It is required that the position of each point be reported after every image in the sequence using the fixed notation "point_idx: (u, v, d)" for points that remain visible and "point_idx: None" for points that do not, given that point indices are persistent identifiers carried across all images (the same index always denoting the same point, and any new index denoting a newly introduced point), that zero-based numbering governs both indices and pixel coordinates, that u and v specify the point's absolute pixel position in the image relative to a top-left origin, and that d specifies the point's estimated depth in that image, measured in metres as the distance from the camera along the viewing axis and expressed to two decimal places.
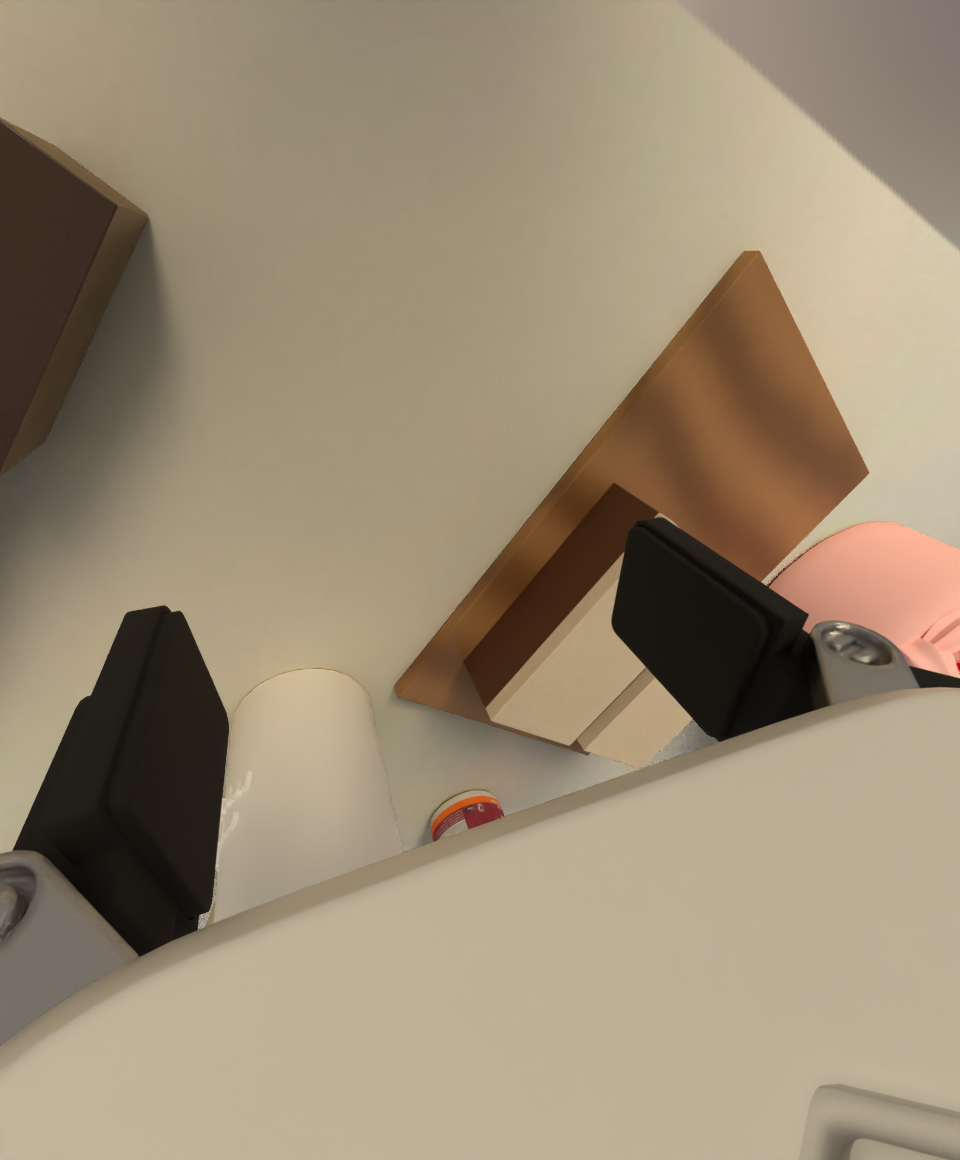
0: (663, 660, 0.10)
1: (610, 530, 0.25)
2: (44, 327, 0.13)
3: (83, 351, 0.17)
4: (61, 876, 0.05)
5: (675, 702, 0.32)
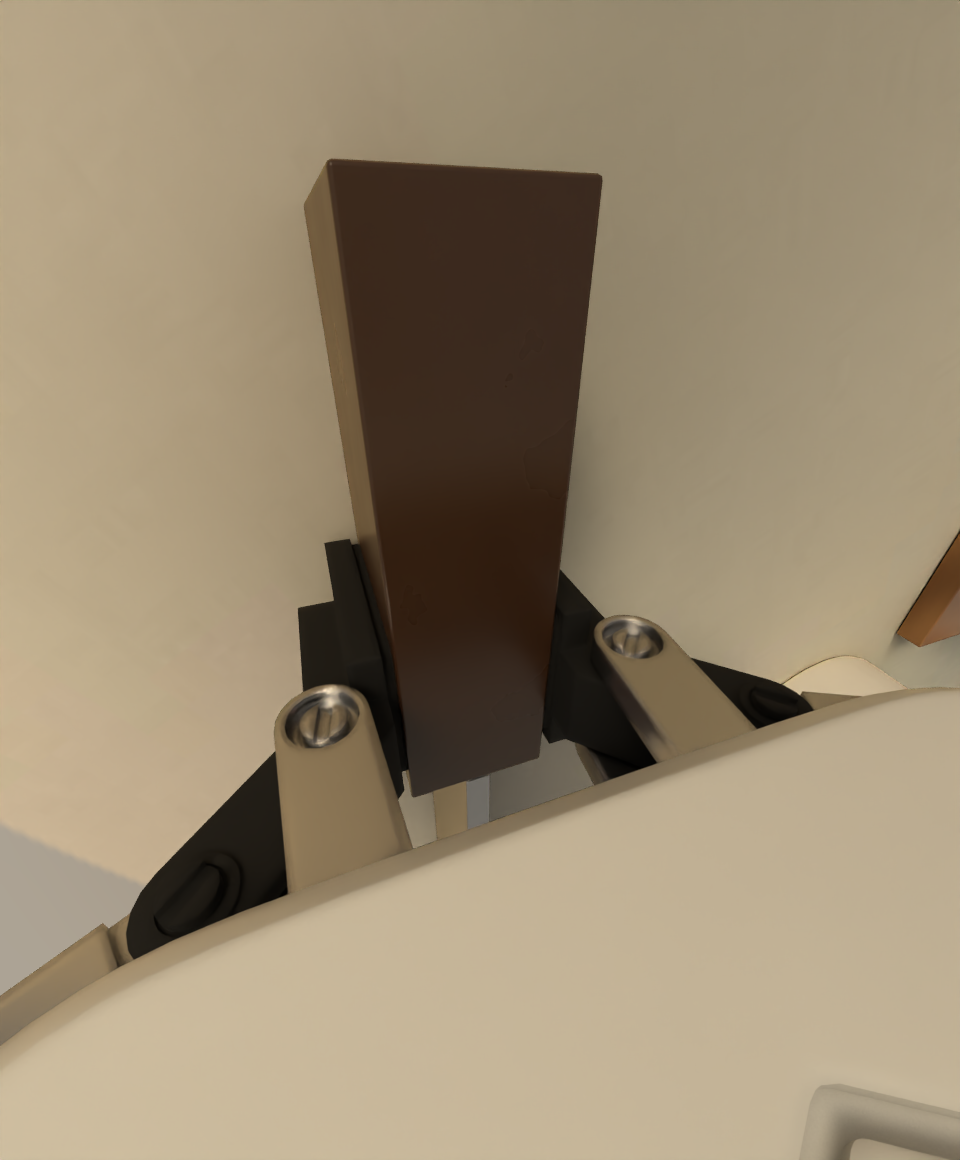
0: None
1: None
2: (542, 538, 0.07)
3: None
4: (373, 721, 0.06)
5: None
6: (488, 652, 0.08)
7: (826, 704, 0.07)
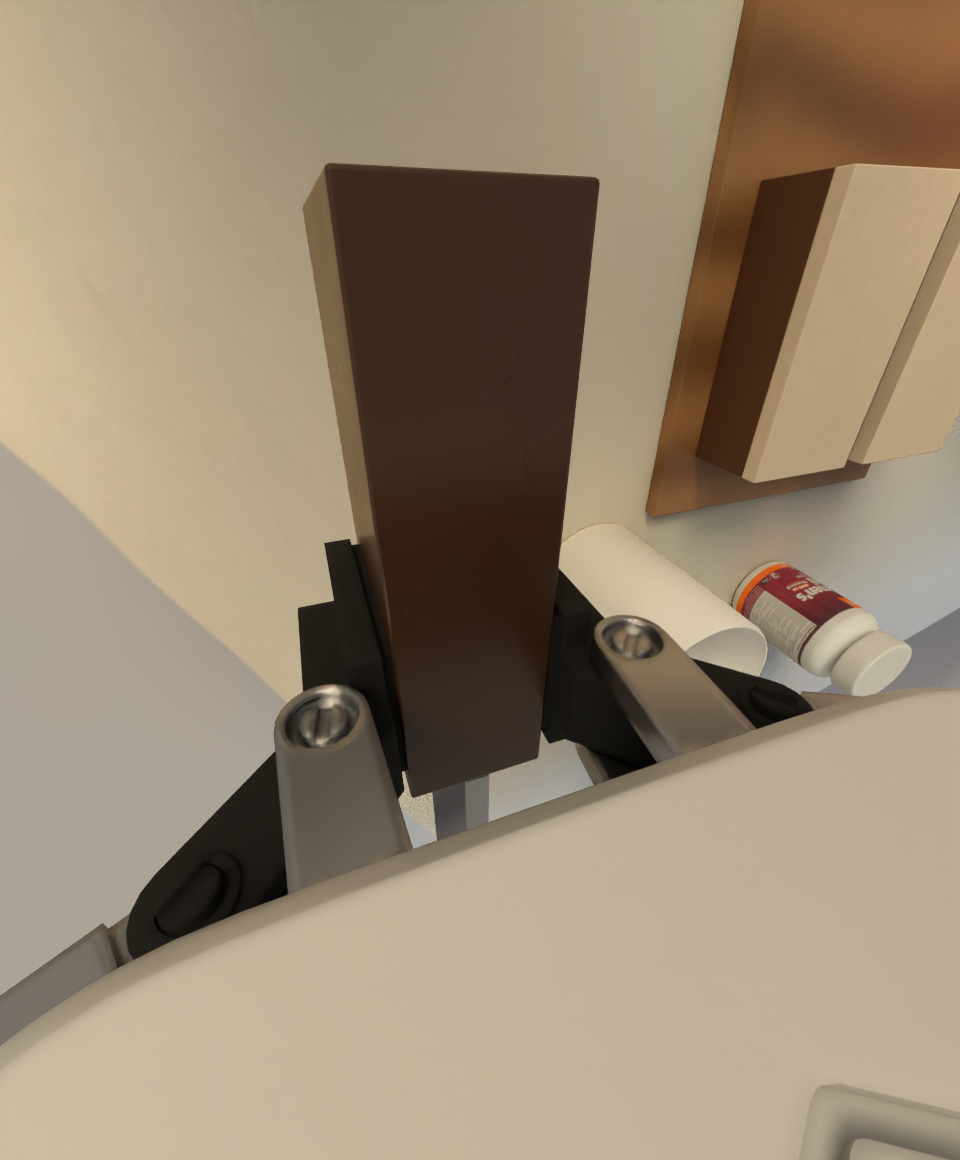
0: None
1: (785, 231, 0.23)
2: (540, 539, 0.07)
3: None
4: (373, 721, 0.06)
5: (952, 358, 0.28)
6: (487, 653, 0.08)
7: (826, 704, 0.07)
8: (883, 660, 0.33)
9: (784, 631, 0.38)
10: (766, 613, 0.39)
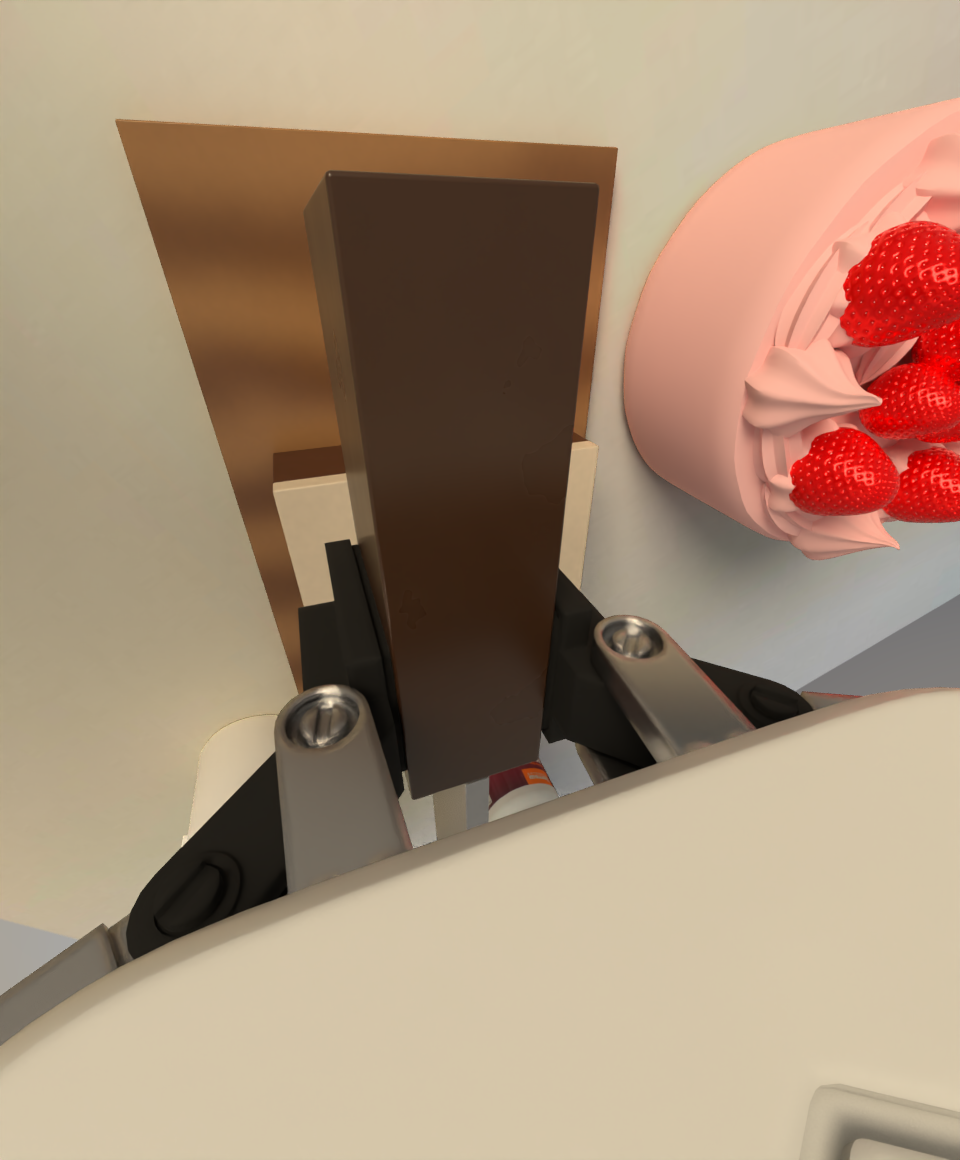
0: None
1: None
2: (540, 542, 0.07)
3: None
4: (373, 721, 0.06)
5: None
6: (488, 656, 0.08)
7: (825, 704, 0.07)
8: None
9: None
10: None
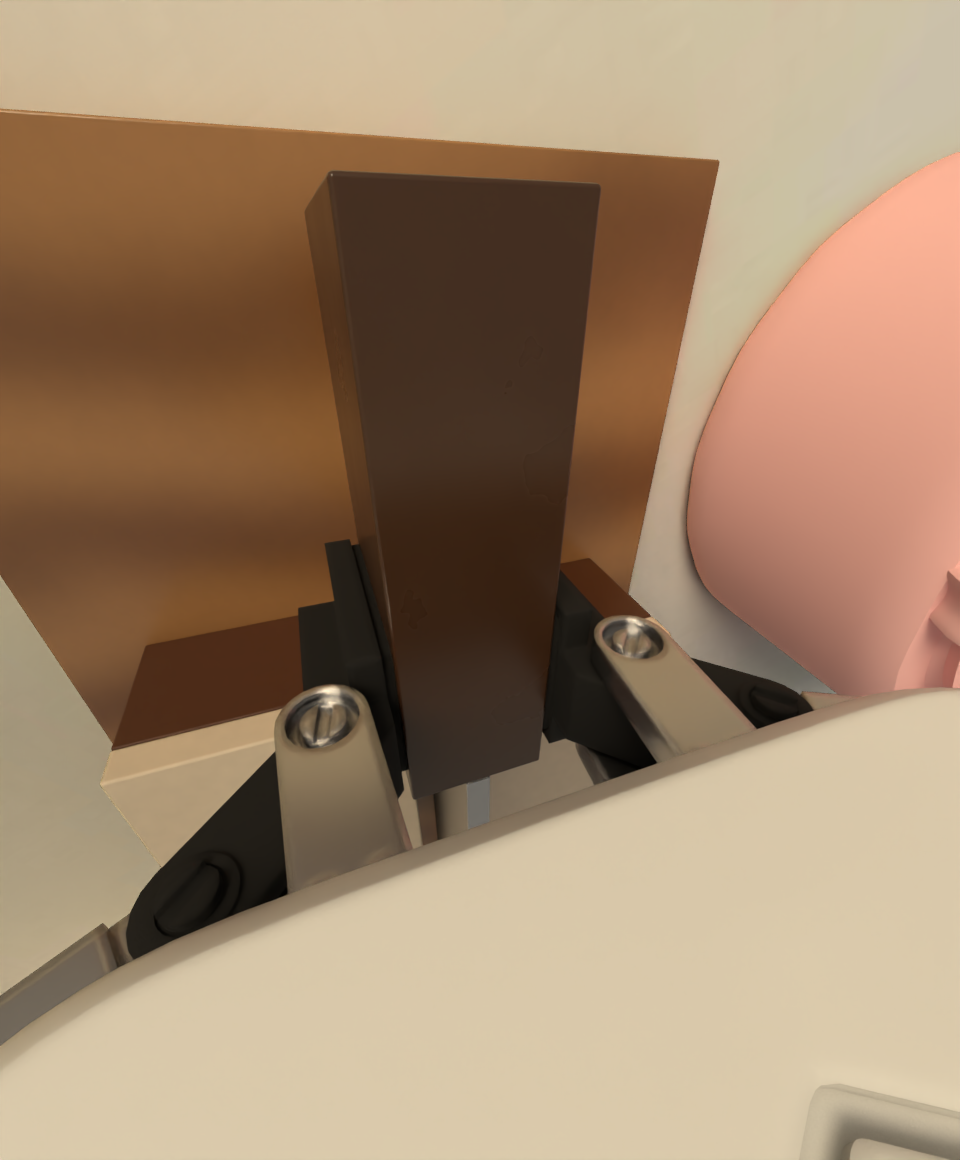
0: None
1: None
2: (541, 542, 0.07)
3: None
4: (373, 721, 0.06)
5: None
6: (489, 656, 0.08)
7: (826, 704, 0.07)
8: None
9: None
10: None
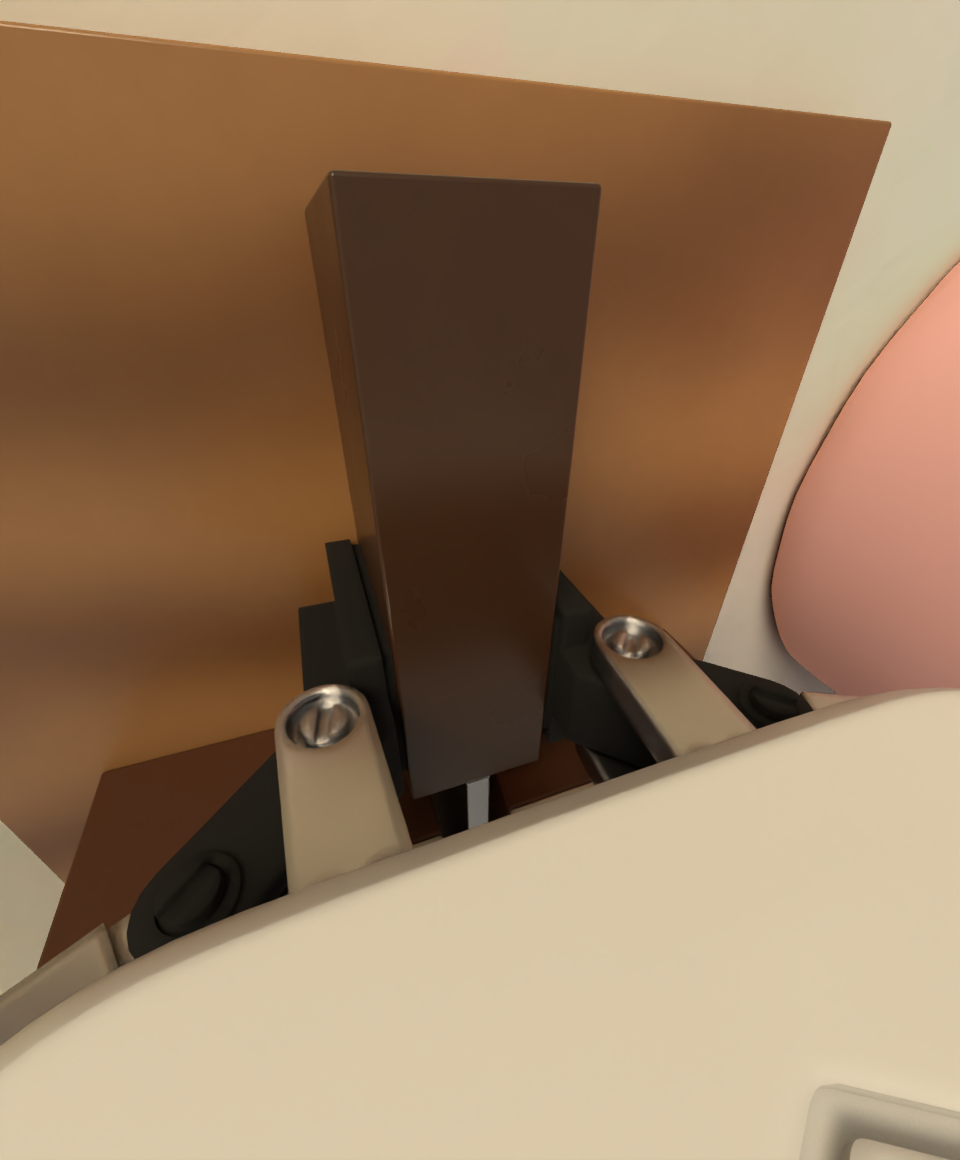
0: None
1: None
2: (542, 542, 0.07)
3: None
4: (373, 721, 0.06)
5: None
6: (488, 656, 0.08)
7: (825, 704, 0.07)
8: None
9: None
10: None
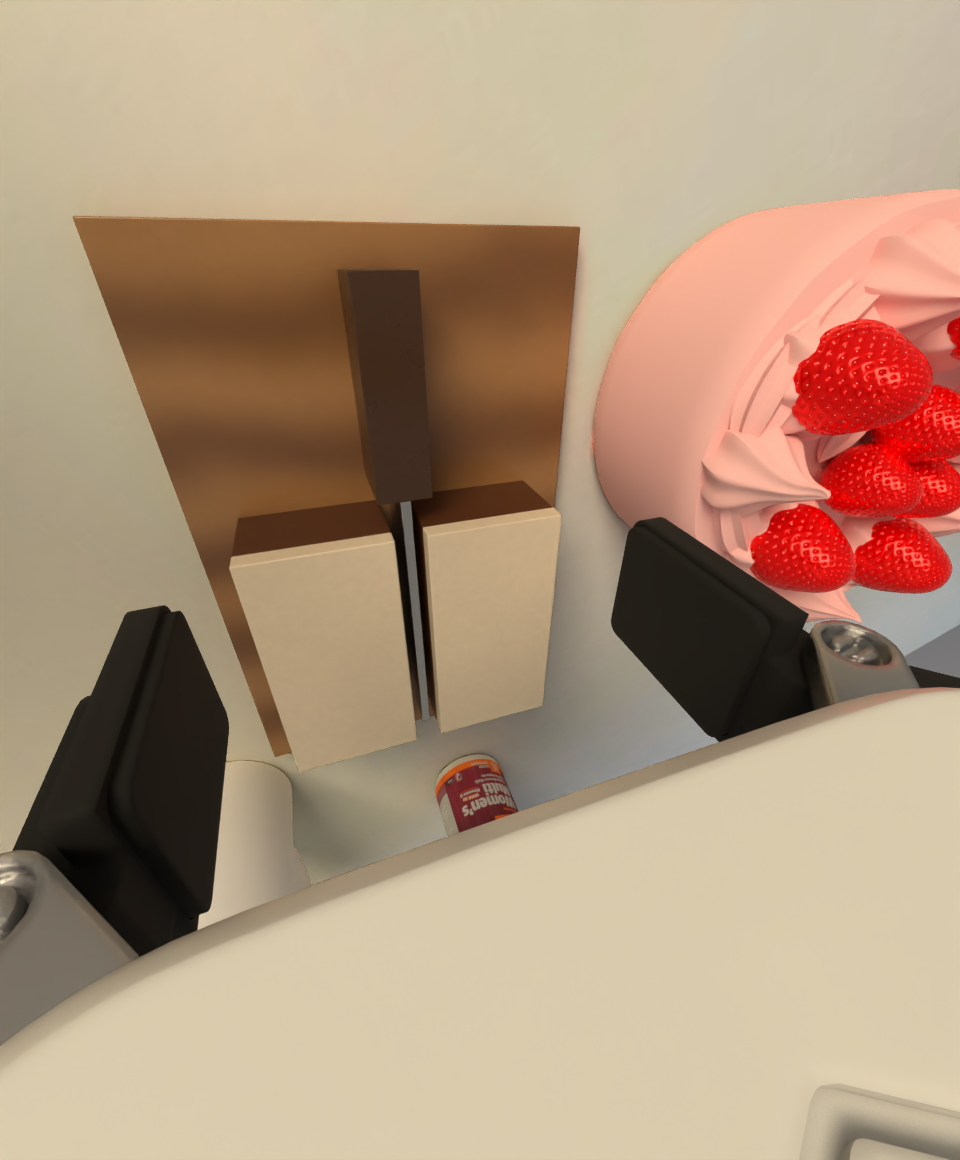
0: (663, 660, 0.10)
1: None
2: (417, 383, 0.20)
3: None
4: (61, 876, 0.05)
5: (497, 650, 0.28)
6: (403, 432, 0.20)
7: None
8: None
9: None
10: (444, 817, 0.39)
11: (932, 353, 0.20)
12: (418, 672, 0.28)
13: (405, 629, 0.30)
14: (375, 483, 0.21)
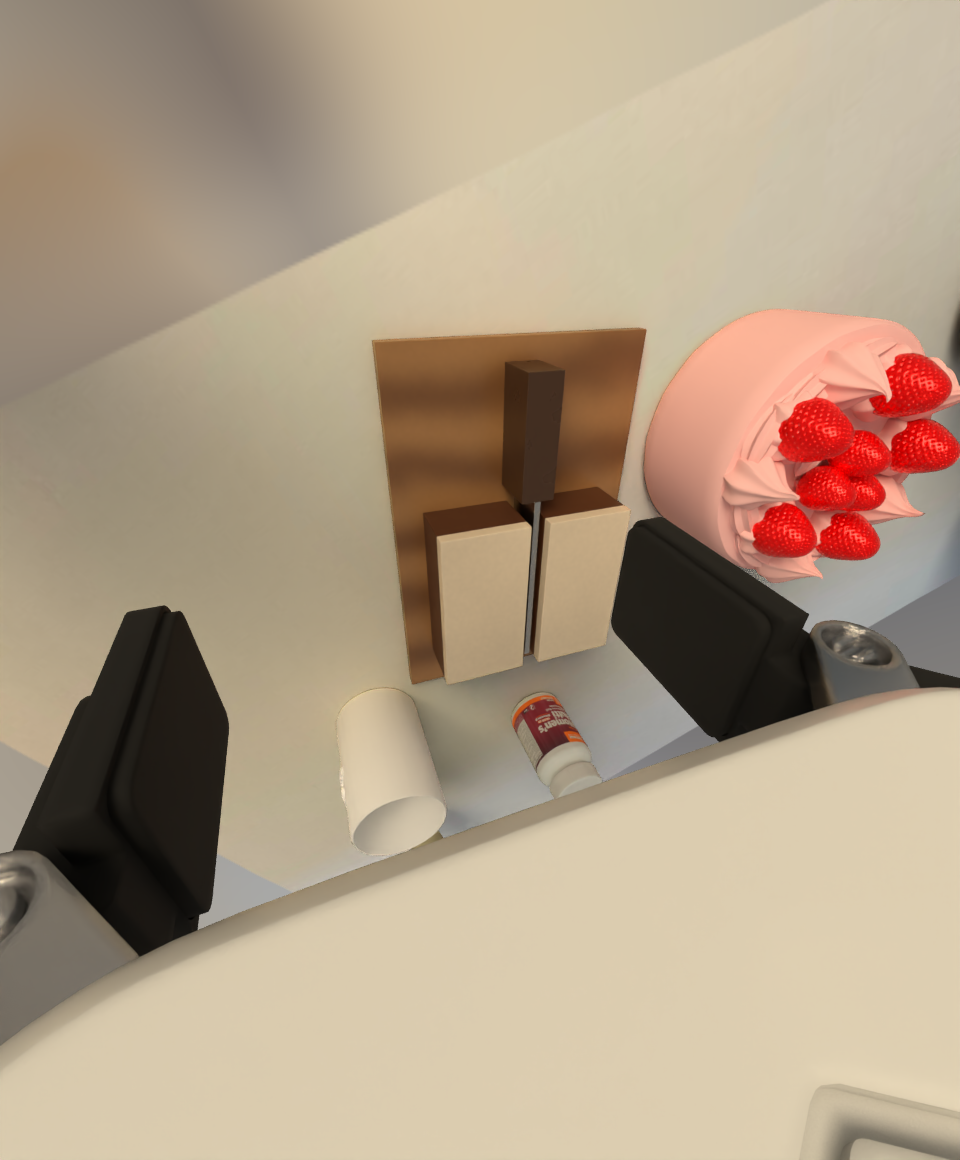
0: (663, 660, 0.10)
1: (431, 551, 0.36)
2: (555, 431, 0.33)
3: None
4: (61, 876, 0.05)
5: (581, 602, 0.41)
6: (543, 460, 0.34)
7: None
8: (574, 786, 0.47)
9: (529, 753, 0.51)
10: (522, 737, 0.53)
11: (861, 412, 0.33)
12: (527, 617, 0.41)
13: None
14: (522, 491, 0.34)
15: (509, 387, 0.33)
